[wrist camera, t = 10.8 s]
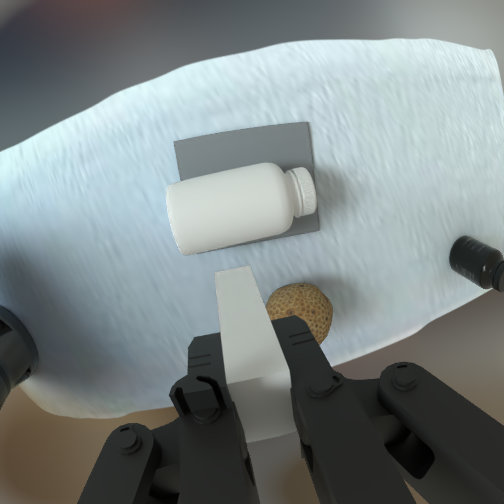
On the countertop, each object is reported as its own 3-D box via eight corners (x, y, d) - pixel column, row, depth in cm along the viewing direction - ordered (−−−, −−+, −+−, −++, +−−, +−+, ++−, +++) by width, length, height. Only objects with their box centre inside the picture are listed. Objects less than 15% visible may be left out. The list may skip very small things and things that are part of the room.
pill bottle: (160, 170, 29) (303, 141, 30) (176, 204, 36) (293, 178, 38) (170, 243, 27) (329, 207, 28) (187, 265, 34) (312, 235, 35)
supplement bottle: (469, 265, 46) (512, 291, 35) (446, 274, 45) (490, 305, 34) (473, 231, 43) (520, 253, 32) (449, 238, 43) (498, 264, 32)
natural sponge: (324, 269, 41) (355, 303, 32) (312, 323, 44) (336, 365, 35) (259, 266, 40) (276, 304, 30) (253, 324, 42) (265, 370, 33)
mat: (196, 252, 38) (196, 253, 37) (173, 141, 33) (173, 141, 32) (318, 229, 39) (319, 230, 39) (306, 122, 34) (307, 121, 34)
